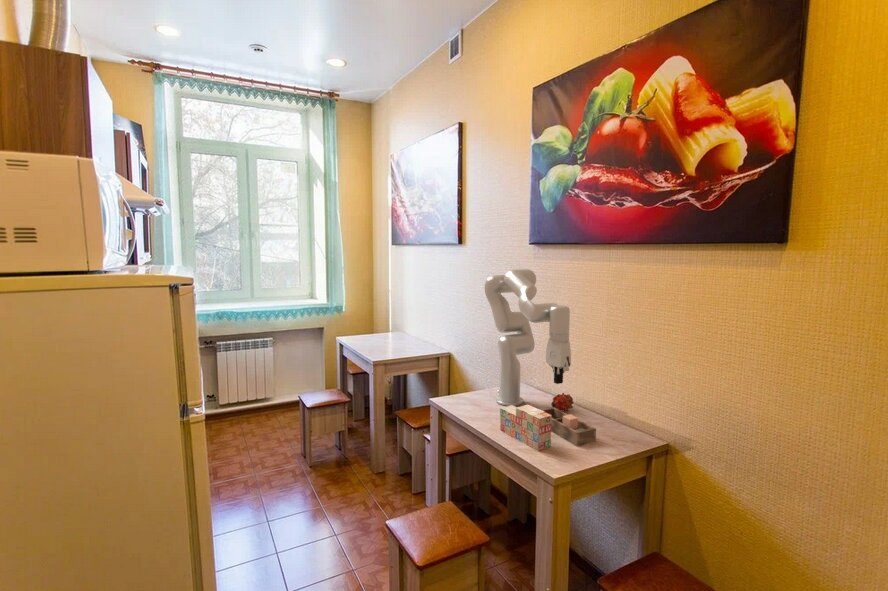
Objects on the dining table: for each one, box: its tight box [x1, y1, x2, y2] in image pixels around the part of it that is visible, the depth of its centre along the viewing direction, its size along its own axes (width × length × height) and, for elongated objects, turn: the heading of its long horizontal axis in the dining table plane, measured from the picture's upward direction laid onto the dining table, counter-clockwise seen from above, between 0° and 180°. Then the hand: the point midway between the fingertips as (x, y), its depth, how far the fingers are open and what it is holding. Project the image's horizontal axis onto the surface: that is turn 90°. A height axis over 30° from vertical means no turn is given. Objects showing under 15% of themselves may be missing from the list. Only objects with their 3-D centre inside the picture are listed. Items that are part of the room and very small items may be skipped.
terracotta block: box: [562, 413, 579, 429], centre depth 167 cm, size 4×4×4 cm
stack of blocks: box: [499, 404, 552, 452], centre depth 164 cm, size 21×6×12 cm, turn 32°
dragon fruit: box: [551, 392, 575, 413], centre depth 192 cm, size 8×8×12 cm
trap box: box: [541, 407, 597, 447], centre depth 170 cm, size 24×9×5 cm, turn 25°
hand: (558, 382), depth 172 cm, fingers closed
